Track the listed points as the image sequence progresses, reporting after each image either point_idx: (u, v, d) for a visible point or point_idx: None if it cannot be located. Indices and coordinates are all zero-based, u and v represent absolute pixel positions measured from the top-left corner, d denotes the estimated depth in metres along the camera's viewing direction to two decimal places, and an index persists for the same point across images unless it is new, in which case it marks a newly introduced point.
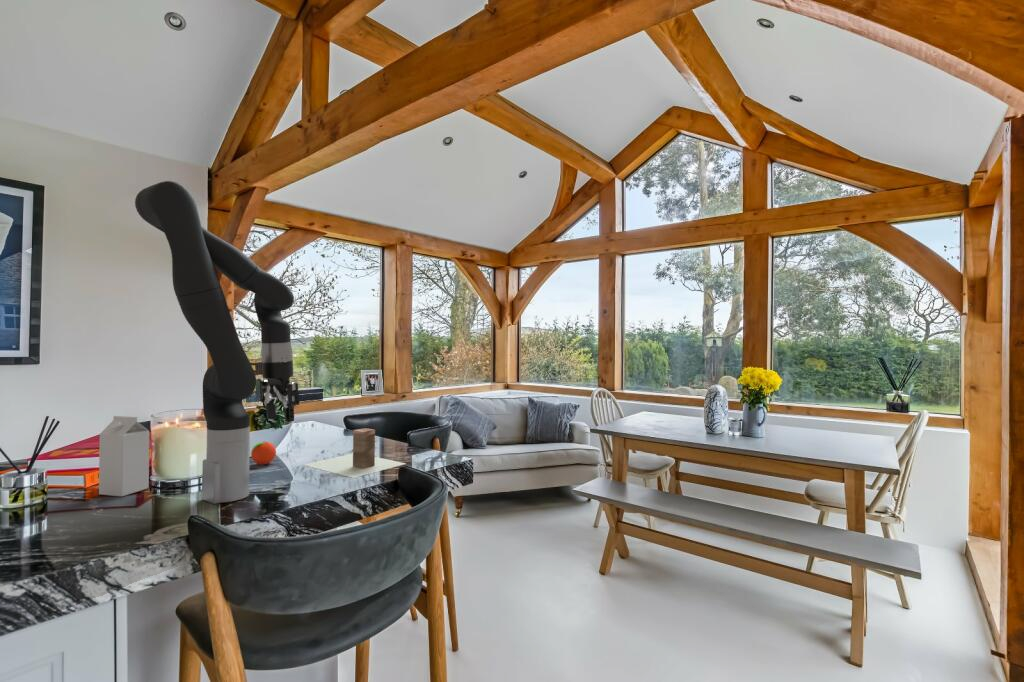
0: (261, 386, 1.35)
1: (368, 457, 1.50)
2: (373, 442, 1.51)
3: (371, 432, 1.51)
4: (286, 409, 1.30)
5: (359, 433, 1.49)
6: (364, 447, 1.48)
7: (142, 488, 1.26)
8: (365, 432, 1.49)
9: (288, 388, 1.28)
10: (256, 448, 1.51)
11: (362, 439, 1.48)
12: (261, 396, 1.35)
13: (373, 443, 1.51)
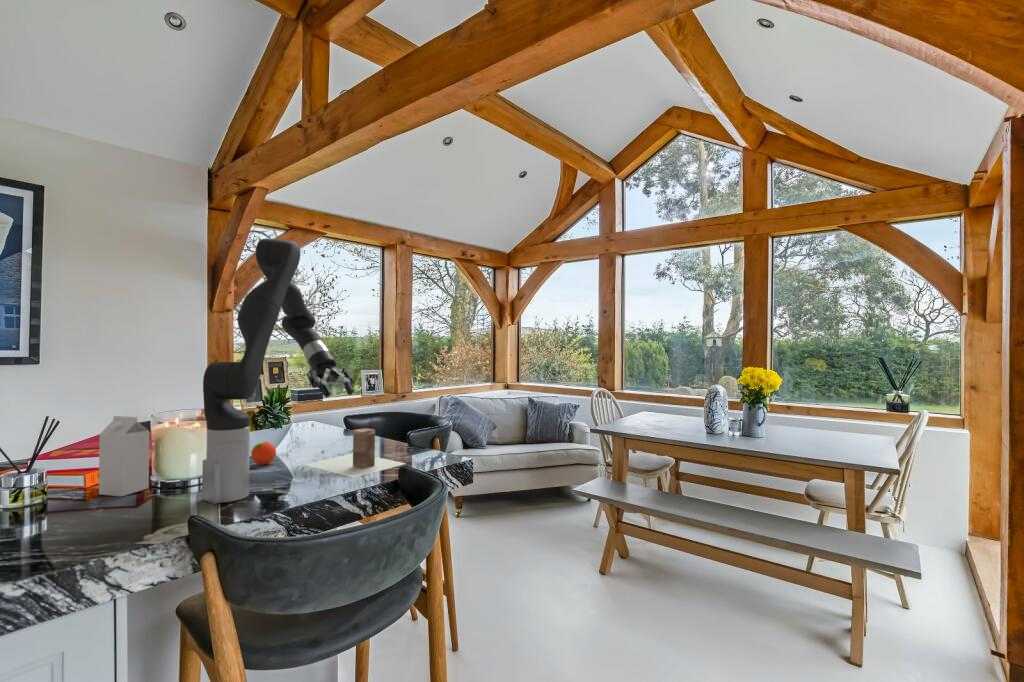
0: (313, 372, 1.55)
1: (368, 457, 1.50)
2: (373, 442, 1.51)
3: (371, 432, 1.51)
4: None
5: (359, 433, 1.49)
6: (364, 447, 1.48)
7: (142, 488, 1.26)
8: (365, 432, 1.49)
9: (346, 369, 1.66)
10: (256, 448, 1.51)
11: (362, 439, 1.48)
12: (316, 379, 1.54)
13: (373, 443, 1.51)
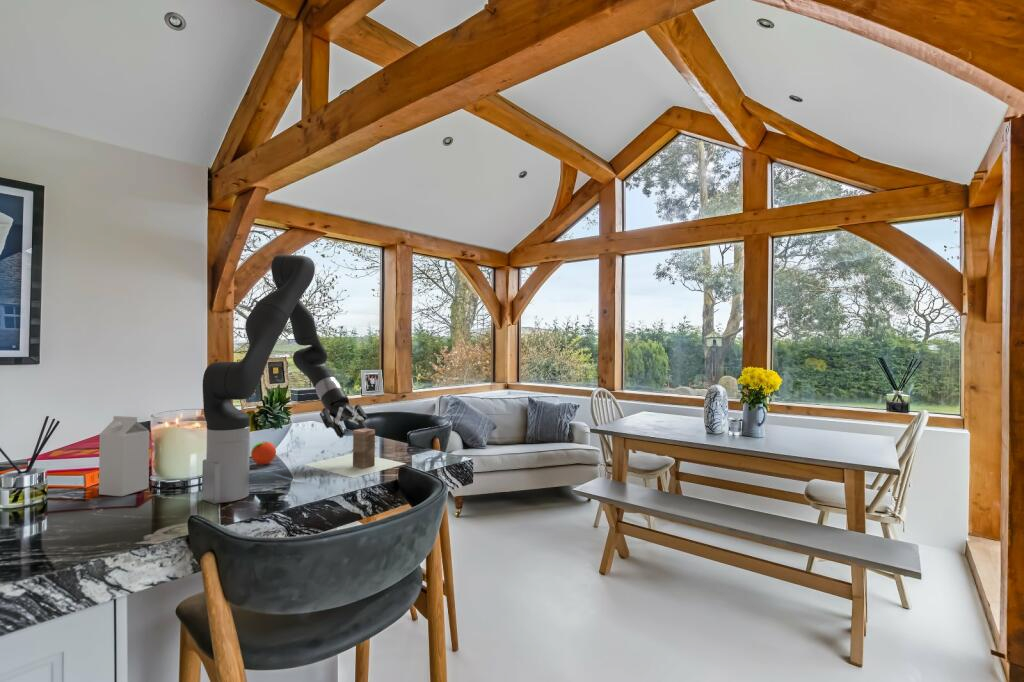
0: (326, 411, 1.51)
1: (368, 457, 1.50)
2: (373, 442, 1.51)
3: (371, 432, 1.51)
4: None
5: (359, 433, 1.49)
6: (364, 447, 1.48)
7: (142, 488, 1.26)
8: (365, 432, 1.49)
9: (360, 406, 1.62)
10: (256, 448, 1.51)
11: (362, 439, 1.48)
12: (329, 419, 1.50)
13: (373, 443, 1.51)
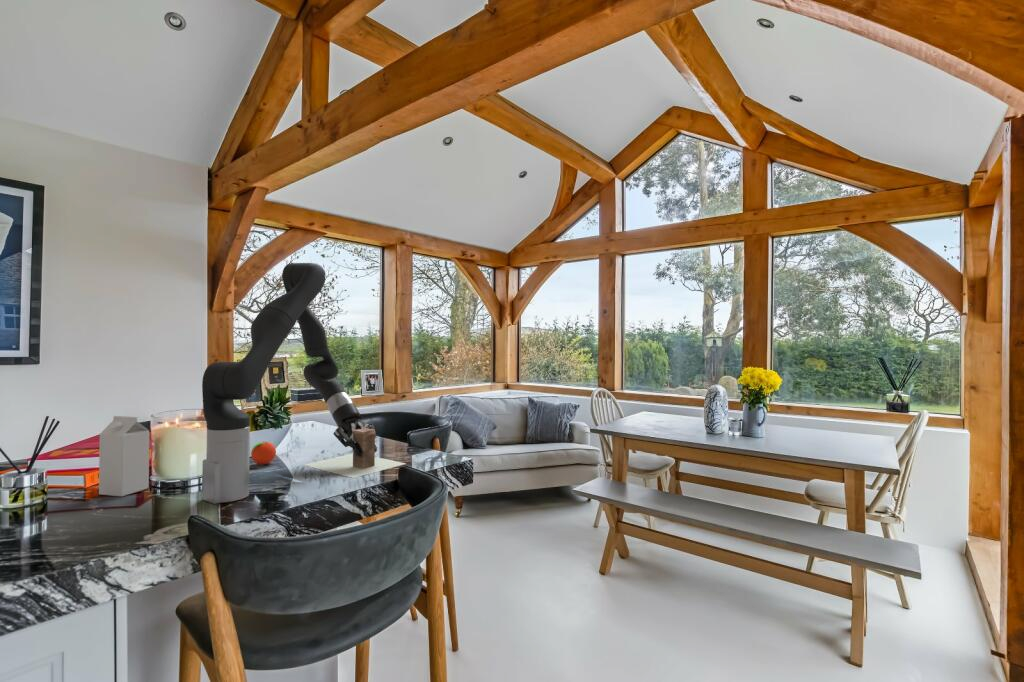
0: (341, 431, 1.48)
1: (368, 457, 1.50)
2: (373, 442, 1.51)
3: (371, 432, 1.51)
4: None
5: (359, 433, 1.49)
6: (364, 447, 1.48)
7: (142, 488, 1.26)
8: (365, 432, 1.49)
9: (372, 425, 1.58)
10: (256, 448, 1.51)
11: (362, 439, 1.48)
12: (347, 438, 1.48)
13: (373, 443, 1.51)
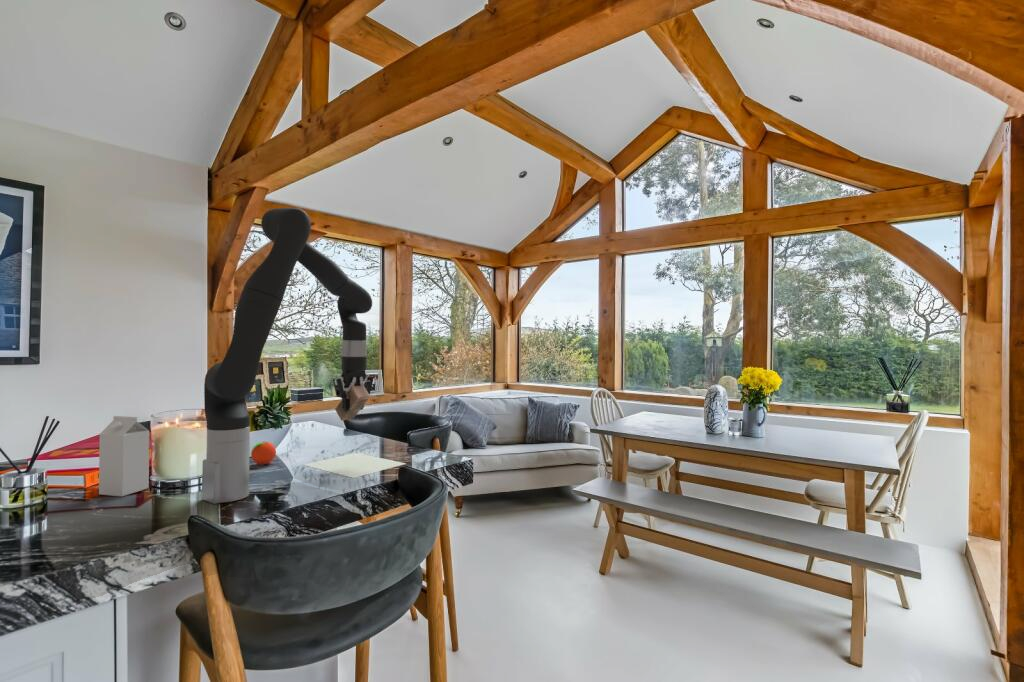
0: (340, 383, 1.48)
1: (351, 413, 1.54)
2: (362, 404, 1.54)
3: (365, 398, 1.52)
4: None
5: (354, 394, 1.50)
6: (352, 407, 1.51)
7: (142, 488, 1.26)
8: (360, 397, 1.50)
9: (372, 380, 1.58)
10: (256, 448, 1.51)
11: (354, 401, 1.50)
12: (342, 392, 1.49)
13: (362, 405, 1.54)
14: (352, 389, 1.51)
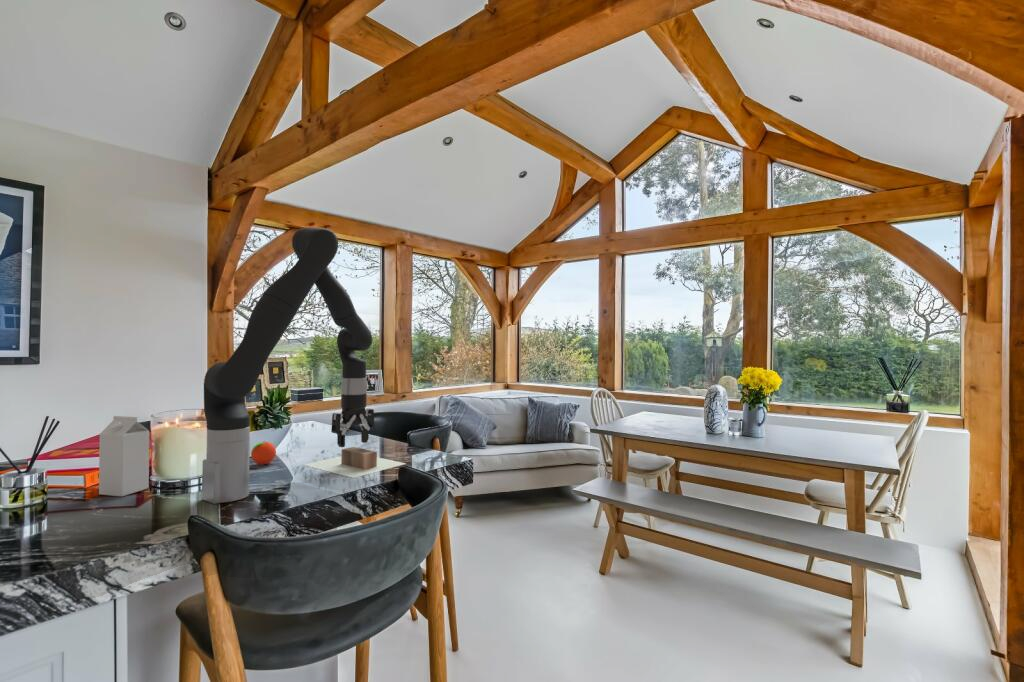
0: (339, 418, 1.48)
1: None
2: None
3: None
4: (367, 431, 1.57)
5: (363, 463, 1.48)
6: None
7: (142, 488, 1.26)
8: (366, 468, 1.48)
9: (373, 413, 1.59)
10: (256, 448, 1.51)
11: (359, 467, 1.49)
12: (338, 428, 1.48)
13: None
14: (363, 457, 1.47)
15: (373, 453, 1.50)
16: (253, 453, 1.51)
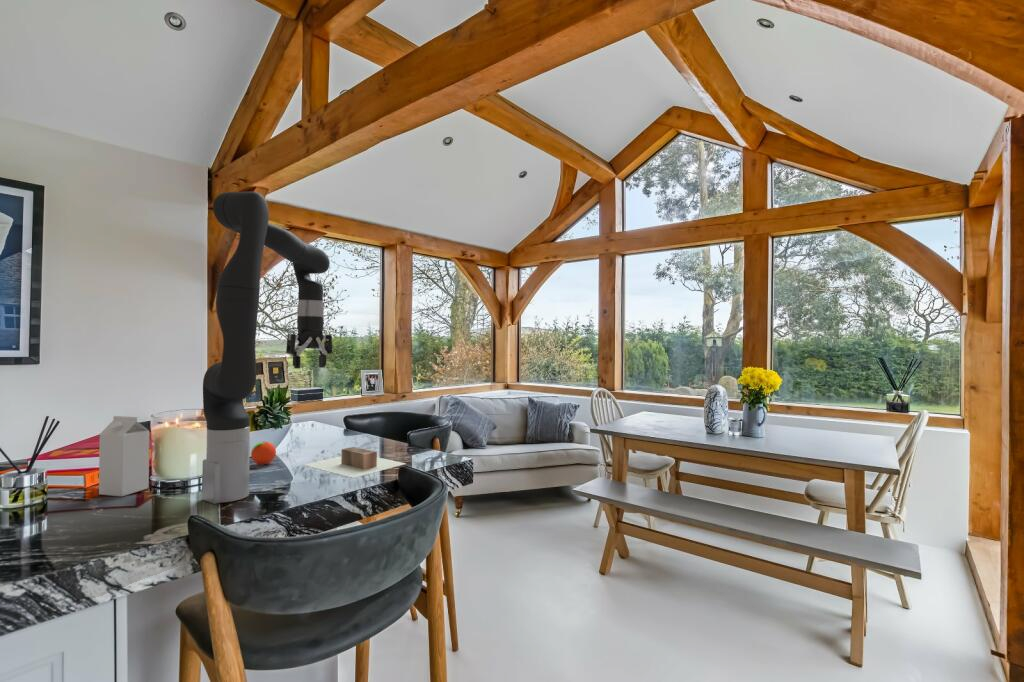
0: (293, 339, 1.48)
1: None
2: None
3: None
4: (324, 356, 1.57)
5: (363, 463, 1.48)
6: None
7: (142, 488, 1.26)
8: (366, 468, 1.48)
9: (330, 338, 1.58)
10: (256, 448, 1.51)
11: (359, 467, 1.49)
12: (293, 348, 1.47)
13: None
14: (363, 457, 1.47)
15: (373, 453, 1.50)
16: (253, 453, 1.51)
